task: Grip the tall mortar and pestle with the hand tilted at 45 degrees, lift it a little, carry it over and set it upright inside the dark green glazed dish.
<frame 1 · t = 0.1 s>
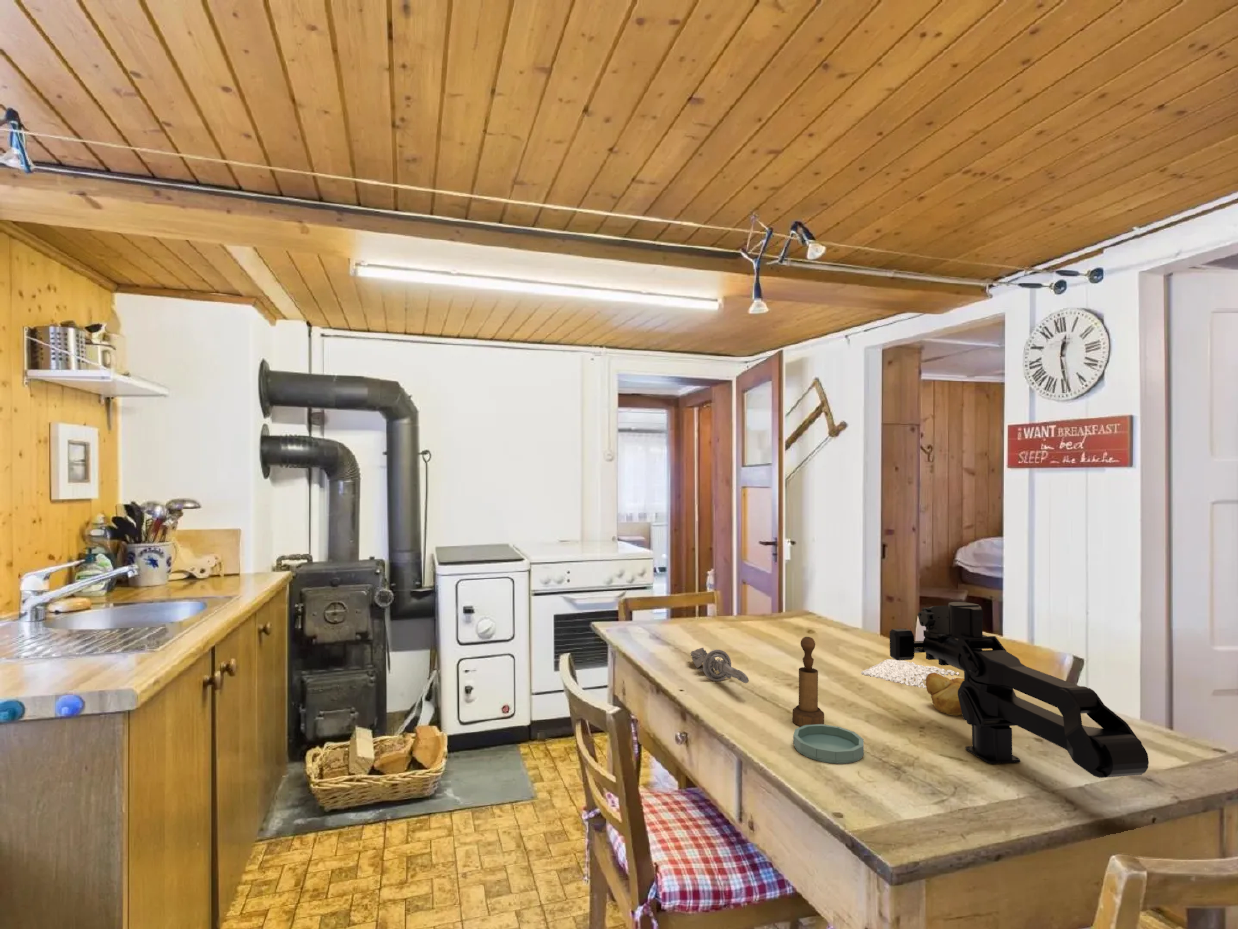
hand: (909, 634, 141), 17 cm above the table, fingers open, 9 cm apart
salt crystals: (911, 677, 165), on the table
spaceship: (717, 681, 159), on the table
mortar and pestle: (808, 723, 132), on the table
bread roll: (960, 712, 139), on the table
glazed dish: (828, 748, 119), on the table
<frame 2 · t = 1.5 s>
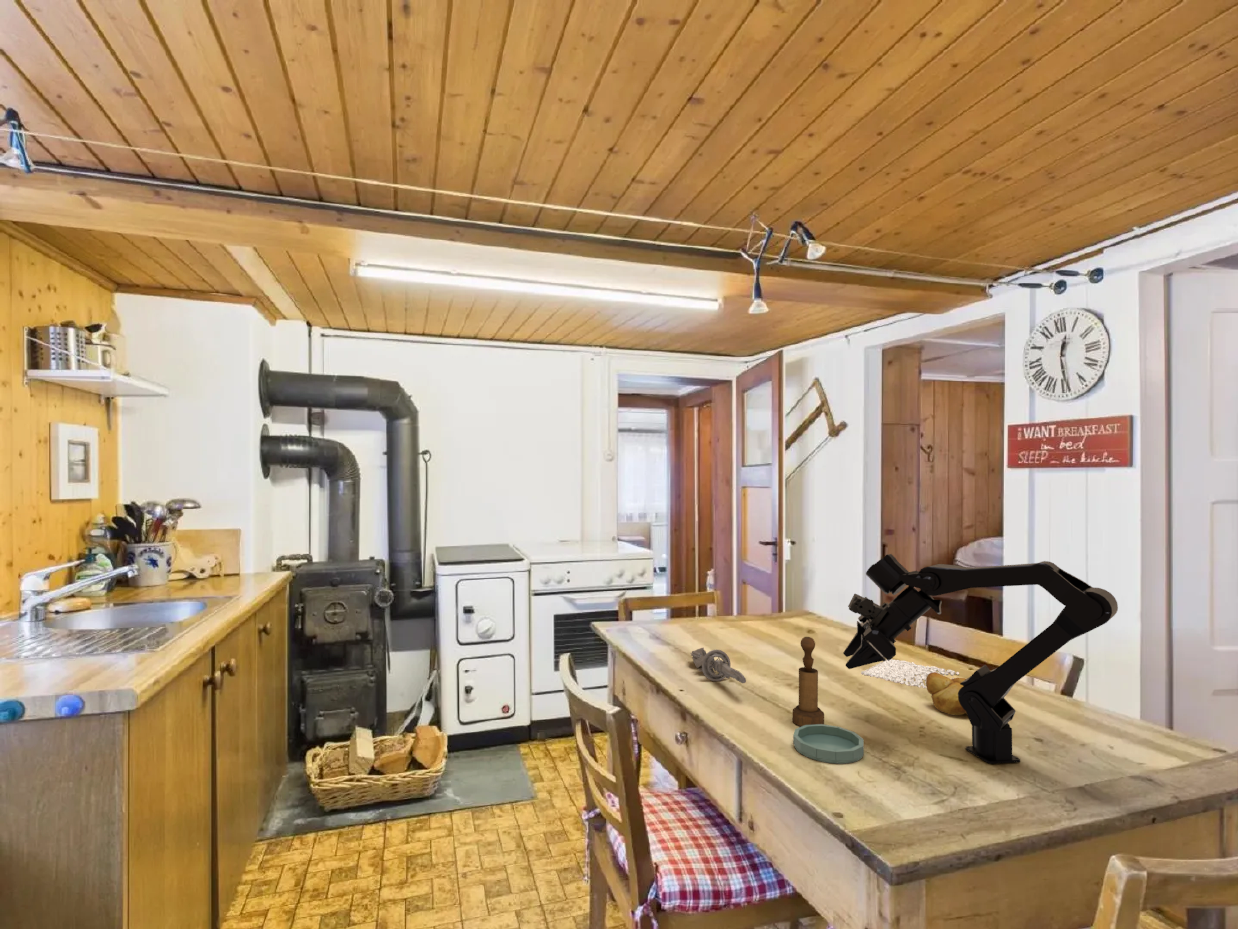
hand: (845, 661, 130), 14 cm above the table, fingers open, 9 cm apart
nothing on the table moved.
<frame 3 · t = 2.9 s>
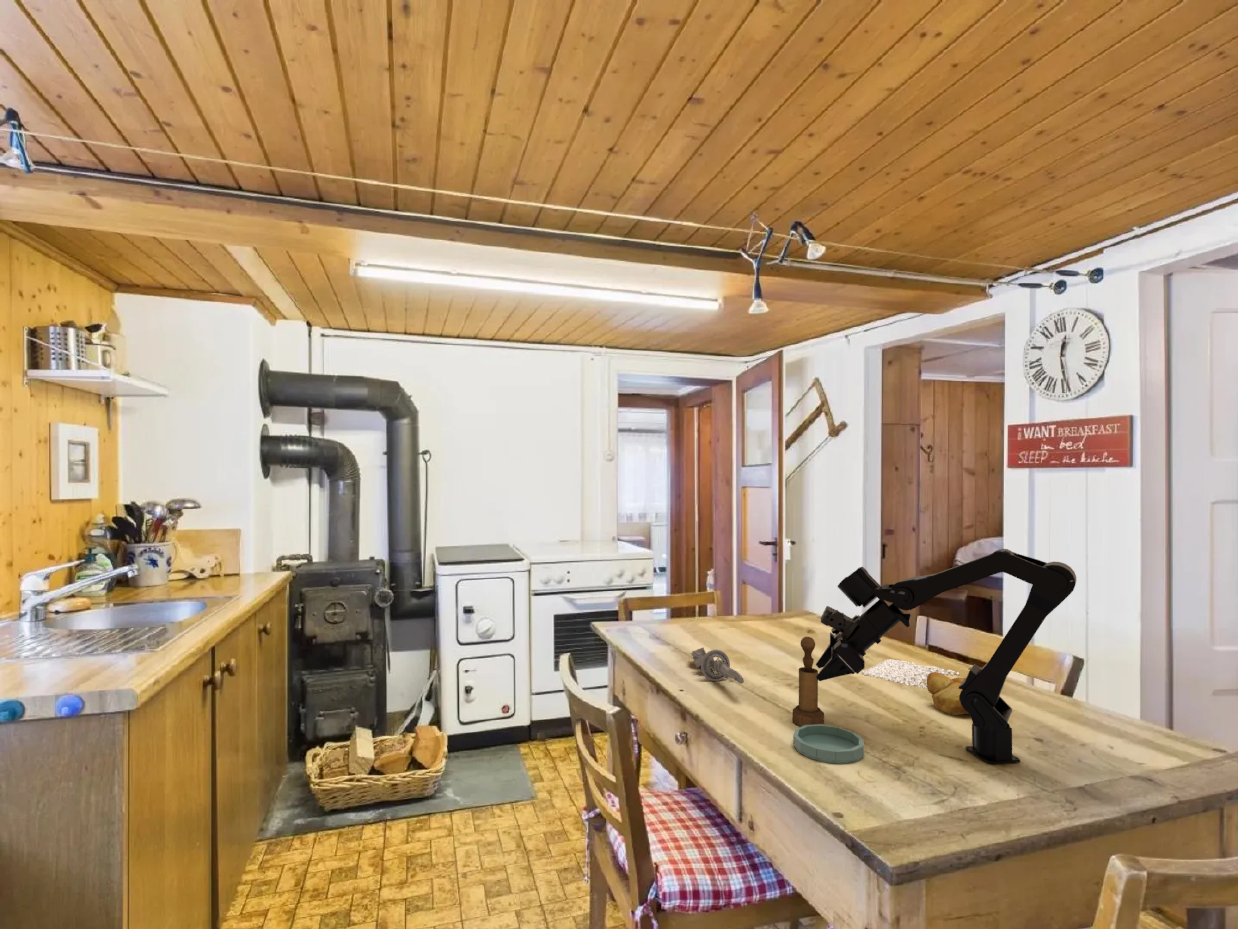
hand: (817, 672, 132), 11 cm above the table, fingers open, 9 cm apart
nothing on the table moved.
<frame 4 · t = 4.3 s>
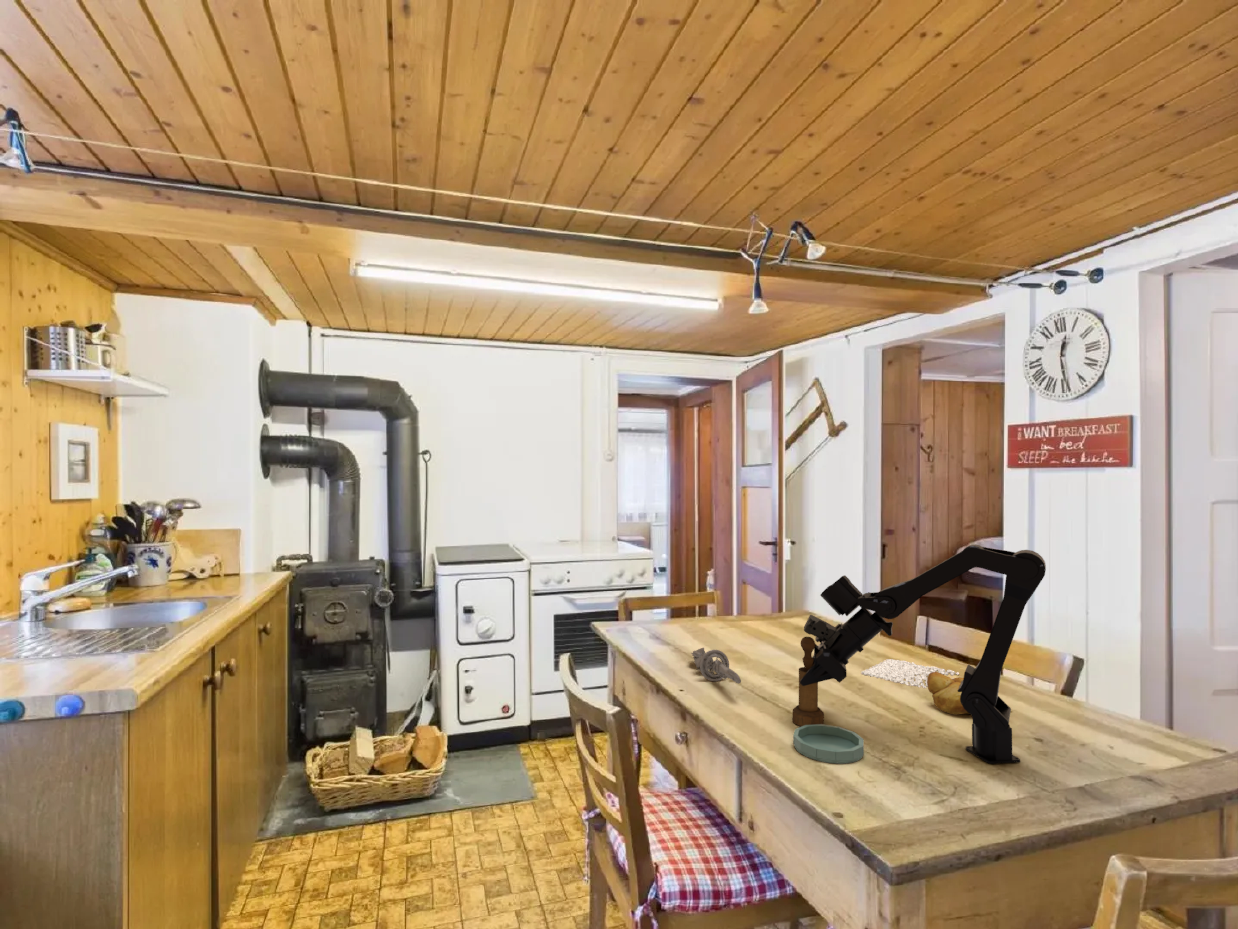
hand: (801, 681, 132), 9 cm above the table, fingers closed on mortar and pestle, 4 cm apart
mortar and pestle: (808, 723, 132), on the table, touching gripper
everything else where it was.
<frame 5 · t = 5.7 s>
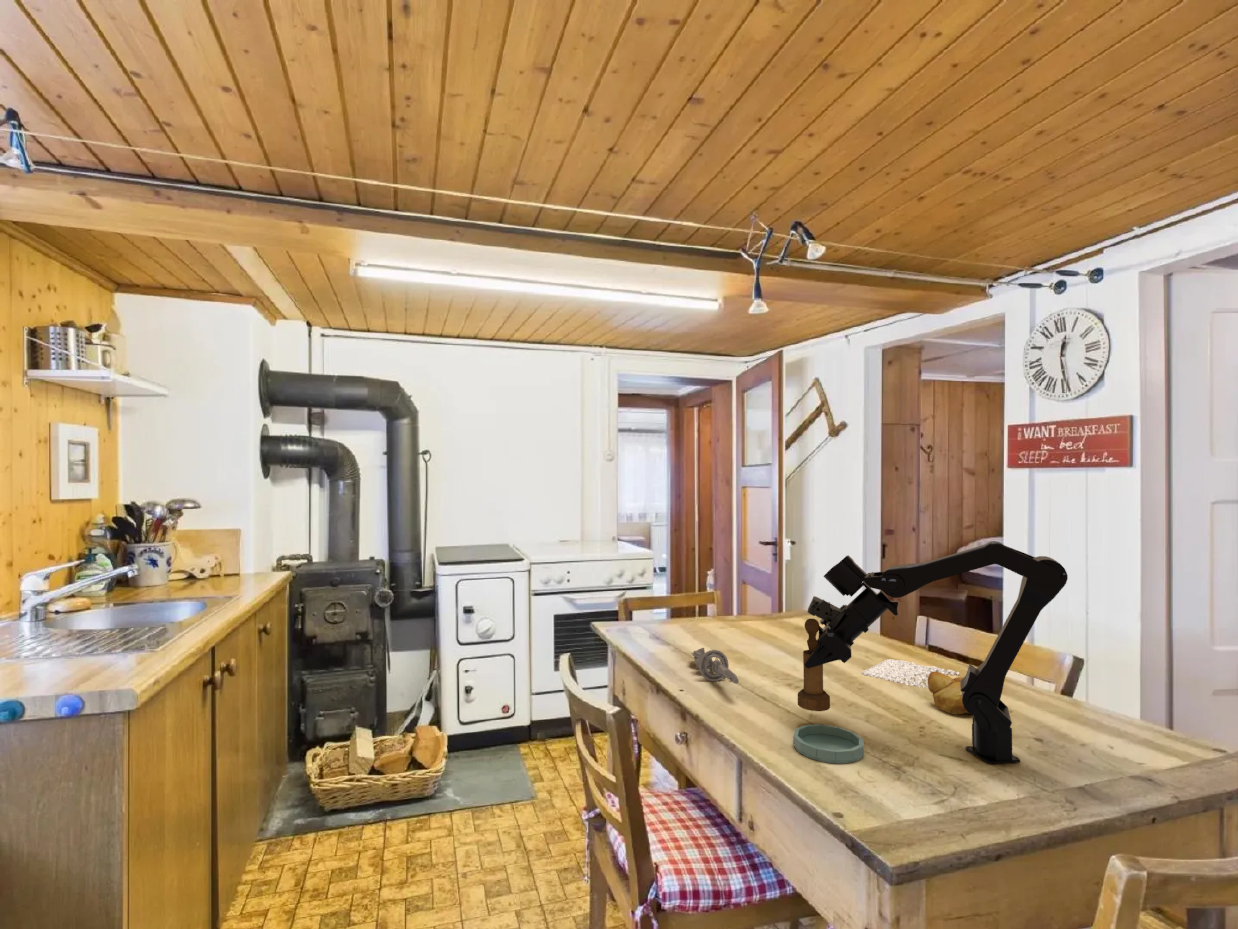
hand: (806, 663, 130), 13 cm above the table, fingers closed on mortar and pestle, 4 cm apart
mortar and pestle: (813, 707, 129), point 4 cm above the table, touching gripper
when the fingers open (10 cm above the table, at t = 7.4 s): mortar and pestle drops 1 cm, resting on glazed dish.
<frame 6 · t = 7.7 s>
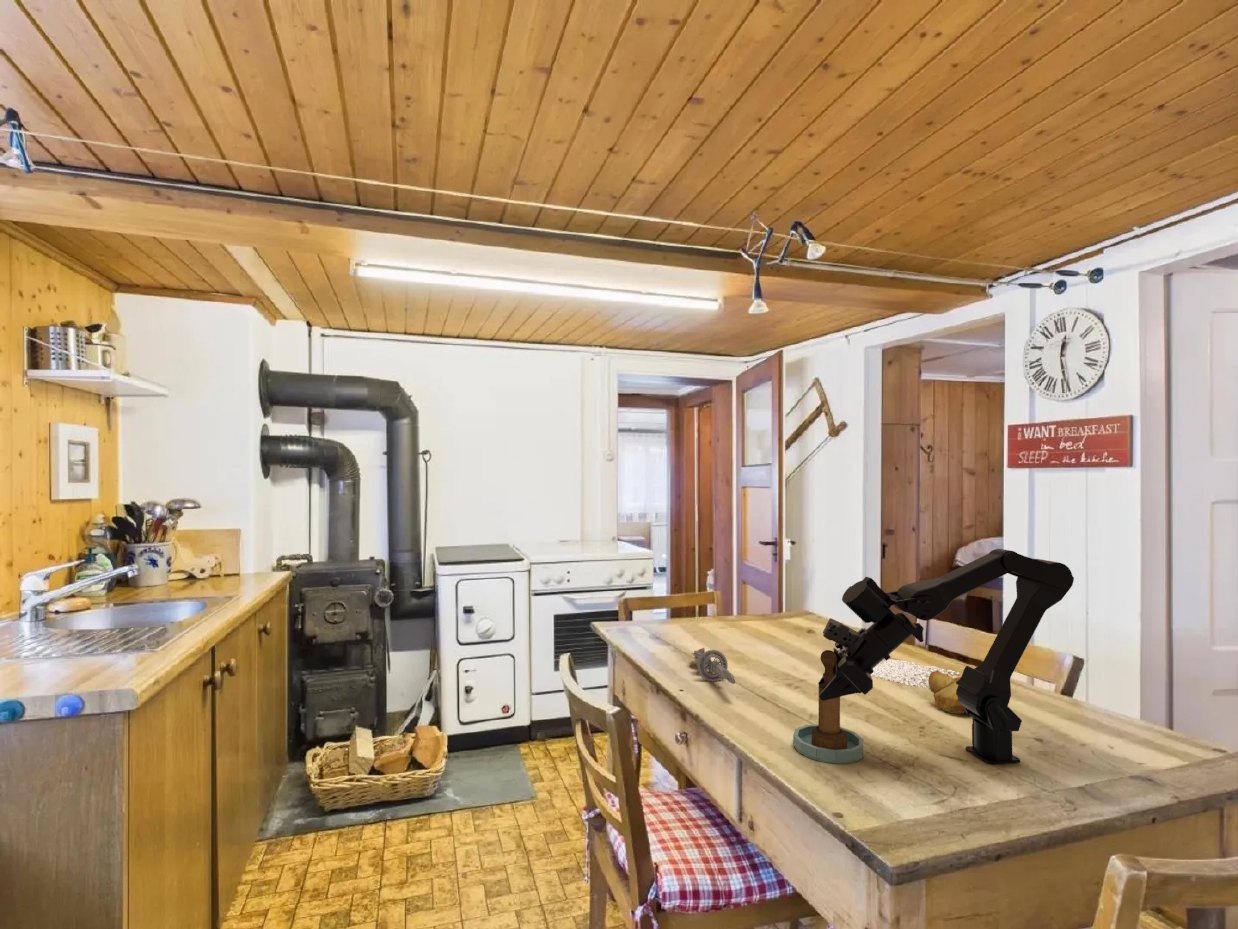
hand: (820, 692, 119), 11 cm above the table, fingers open, 7 cm apart
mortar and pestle: (829, 746, 119), resting on glazed dish
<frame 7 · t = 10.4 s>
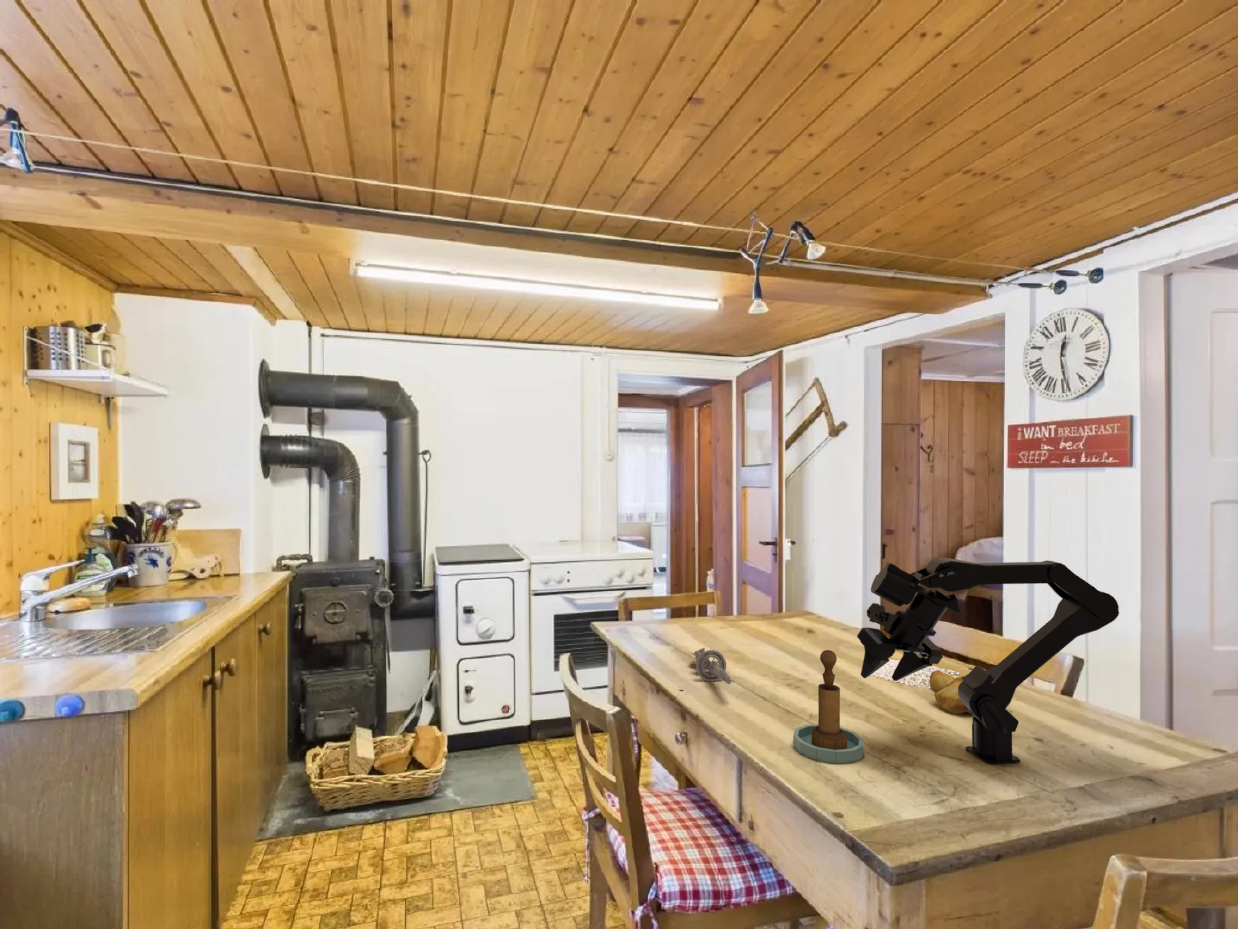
hand: (878, 678, 124), 12 cm above the table, fingers open, 9 cm apart
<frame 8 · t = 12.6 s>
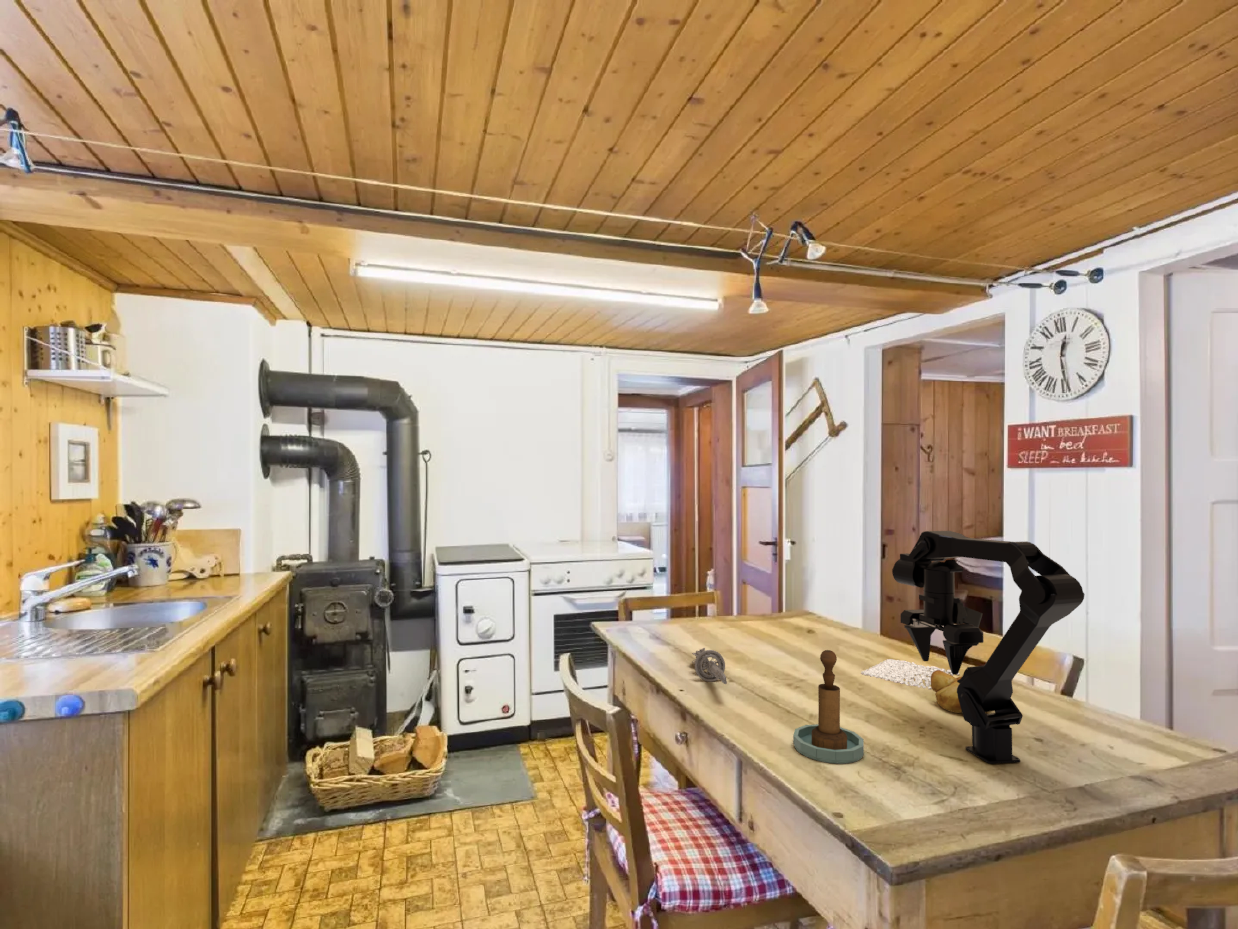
hand: (939, 667, 128), 13 cm above the table, fingers open, 9 cm apart
at the end: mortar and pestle 0.3 cm from the glazed dish (horizontally); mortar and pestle tilted 0°; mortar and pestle resting on glazed dish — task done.
